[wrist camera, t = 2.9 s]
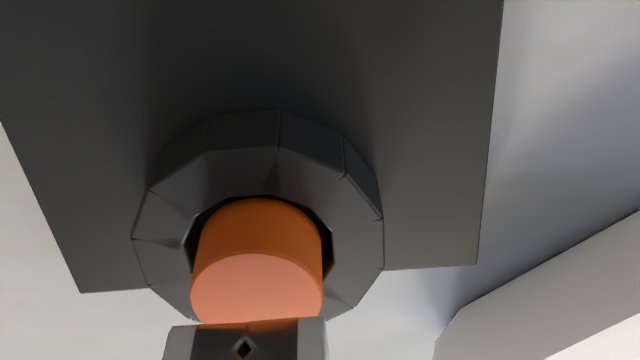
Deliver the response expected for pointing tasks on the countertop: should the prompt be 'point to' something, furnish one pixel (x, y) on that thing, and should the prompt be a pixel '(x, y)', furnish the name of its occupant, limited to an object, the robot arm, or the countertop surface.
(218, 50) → the scale
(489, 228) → the countertop surface
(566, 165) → the countertop surface
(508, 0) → the countertop surface
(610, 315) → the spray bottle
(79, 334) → the countertop surface
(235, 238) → the button
